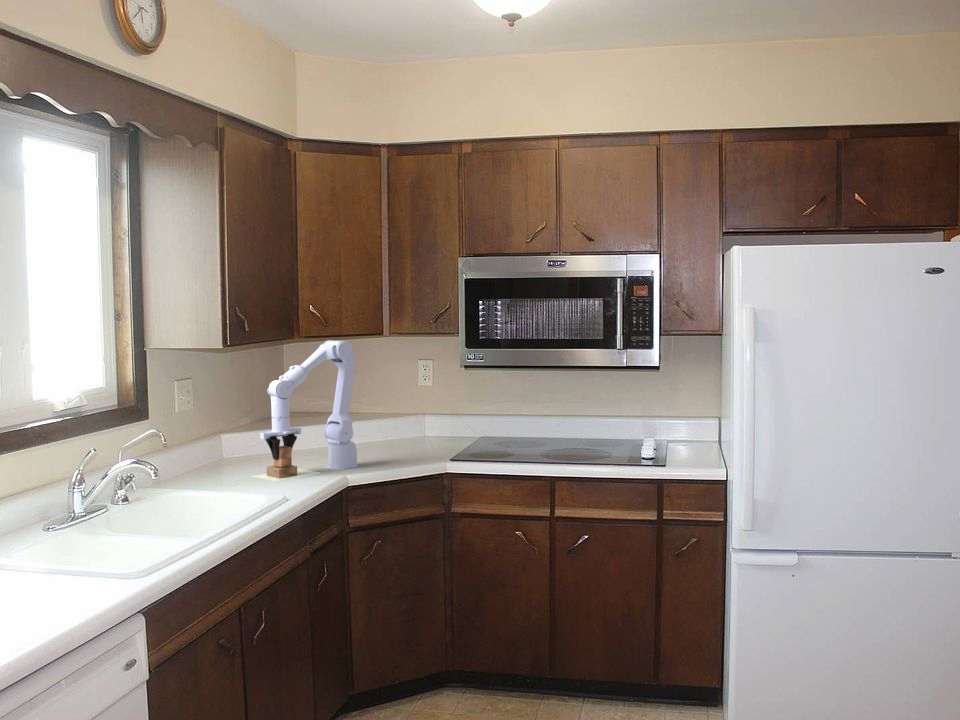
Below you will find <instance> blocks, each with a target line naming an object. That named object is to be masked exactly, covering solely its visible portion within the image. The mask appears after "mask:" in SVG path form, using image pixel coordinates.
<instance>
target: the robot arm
mask: <svg viewBox="0 0 960 720" xmlns="http://www.w3.org/2000/svg"><path fill="white" fill-rule="evenodd" d="M354 350H355V348H354V347H353V346H352V345H351V343H350V342H349V341H348V340H332V339H327V340H325V342H324V343H322V344H320V345H319V346H318V348H317V349H316V350H315V351H314V352H313V353H311V355H310V356H309V357H307V359H305V360H304V361H303V362H302V363H301V364H300V365H299V364H298V365H291V366H289V368H288V369H289V370H287V372H285V373H283V375H280V376H279V377H278V380H277V379H275V380H273V381H271V382H270V383H269V386H268V388H267V389H266V390H267V391H266V392H267V394H268V395H269V397H270V402H271V405H270V406H271V408H270V410H271V412H270V413H271V430H268V431H264V432H260V433H259V434H260V435H259V437H260V438H259V439H261V440H265V442H266V443H267V445H268V447H269V449H270V451H271V455H272V456H271V457H272V459H273V461H274V460H278V459H279V446H281V441H282V442H283V446H288V447H291V452H293V448H294V445H295V443H296V441H297V439H298V436H297V435H302V428H300V427H294V428H293V427H292V428H291V418H290V413H291V412H290V397H291V396H292V394H293V392H294V390H295V389H296V388H297V387H298V386H299V385H301V383H303V382H305V380H306V379H307V377H308V373H309V372H311V371H312V370H313V369H315V368H316V367H317V366H319V365H320V364H321V363H323V362H324V361H326V360H328V361H329V360H330V361H331V362H332V363H334V365H335V366H336V367H337V368H338V373H337V378H336V379H337V380H336V386H335V392H334V393H335V394H334V399H333V400H334V401H333V407H332V413H331V414H330V416H329V417H328V418H327V422H326V424H325V426H324V428H323V435H324V437H325V438H326V439H327V440H326V441H327V443H328V444H327V446H328V447H327V453H328V465H326V466H323V468H328V469H331V470H336V471H337V470H348V469H354V468H359V465H358V457H357V456H358V455H357V454H358V450H357V445H356V443H355V442H353V440H352V438H353V436H354V429H353V421H352V418H351V417H350V416H349V414H350V407H351V399H352V393H353V385H354V379H355V378H354V377H355V369H356V362H355V358H354ZM280 437H281V438H280ZM279 438H280V439H279ZM281 439H282V440H281Z"/></svg>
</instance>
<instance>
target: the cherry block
mask: <svg viewBox="0 0 960 720" xmlns="http://www.w3.org/2000/svg"><path fill="white" fill-rule="evenodd" d="M292 452H293V451H291V447H288V446H284V445H279V459H278V460H274V459H273V466H279V467H285V466H291V465H292V460H293V459H292V456H293V455H292Z"/></svg>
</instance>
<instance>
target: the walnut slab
mask: <svg viewBox="0 0 960 720" xmlns="http://www.w3.org/2000/svg"><path fill="white" fill-rule="evenodd" d="M297 468H298V466H297V465H291V466H285V467H279V466H274V465H268V466H266V468H265V469H266V474H267V476H270V477H274V478H279V479H280V478H285V477H290V476H296V475H297Z"/></svg>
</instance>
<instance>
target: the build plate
mask: <svg viewBox="0 0 960 720" xmlns="http://www.w3.org/2000/svg"><path fill="white" fill-rule="evenodd" d="M319 474H320V475H321V474H322V472H318V471H314V470H308V469H302V468H298V467H297V475H296V476H290V477H285V478H280V479H279V478H274V477H270V476H267V473H262V474H257V475H252V476H251V477H252V478H256V479H257V478H258V479H262V480H267V481H271V482H276V483H278V482H283V481H287V480H294V479H298V478H304V477H309V476H314V475H315V476H316V475H319Z"/></svg>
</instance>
